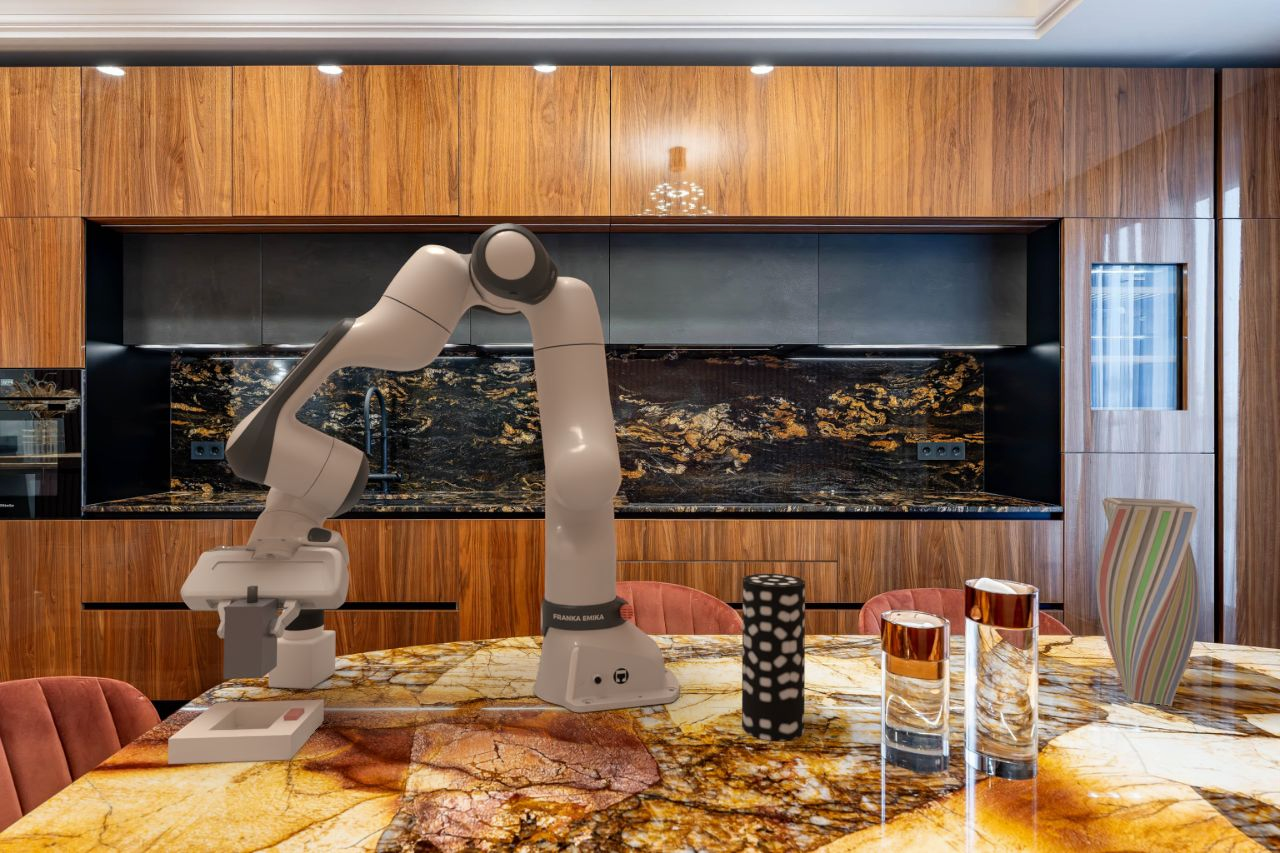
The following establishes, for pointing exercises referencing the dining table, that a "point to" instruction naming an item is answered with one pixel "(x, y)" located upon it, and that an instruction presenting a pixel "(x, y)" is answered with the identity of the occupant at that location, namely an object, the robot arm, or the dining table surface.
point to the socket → (246, 732)
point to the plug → (249, 637)
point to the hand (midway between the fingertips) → (249, 636)
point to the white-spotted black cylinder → (773, 656)
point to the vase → (1148, 594)
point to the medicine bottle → (304, 652)
